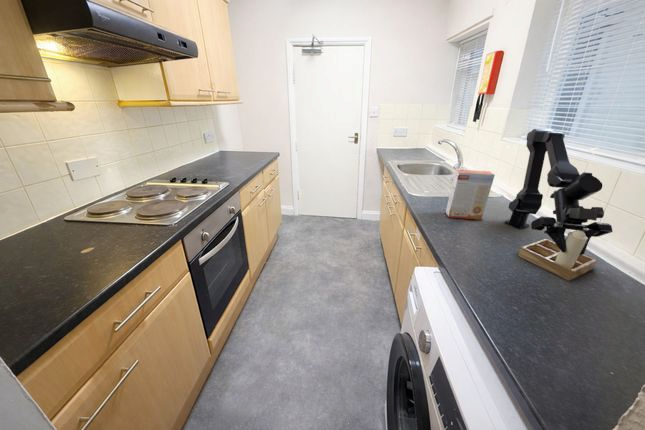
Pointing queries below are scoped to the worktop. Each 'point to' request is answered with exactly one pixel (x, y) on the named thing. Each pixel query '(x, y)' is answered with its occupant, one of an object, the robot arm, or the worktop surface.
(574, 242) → the dome-topped white cylinder
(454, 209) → the cracker box
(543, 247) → the grid
